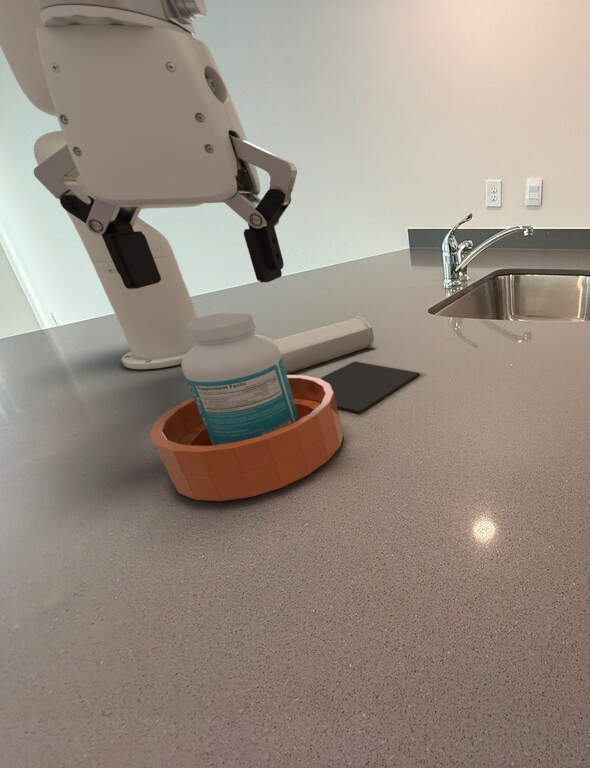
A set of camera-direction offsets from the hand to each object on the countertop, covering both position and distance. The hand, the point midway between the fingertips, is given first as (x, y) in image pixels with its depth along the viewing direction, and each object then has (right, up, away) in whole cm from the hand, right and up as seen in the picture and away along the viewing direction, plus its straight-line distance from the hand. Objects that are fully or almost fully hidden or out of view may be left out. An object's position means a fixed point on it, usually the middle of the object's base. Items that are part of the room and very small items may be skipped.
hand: (208, 282), depth 33 cm
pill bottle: (0, -15, +7) cm, 17 cm away
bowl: (0, -15, +7) cm, 17 cm away
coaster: (+4, -9, +22) cm, 24 cm away
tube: (-8, -6, +27) cm, 29 cm away
